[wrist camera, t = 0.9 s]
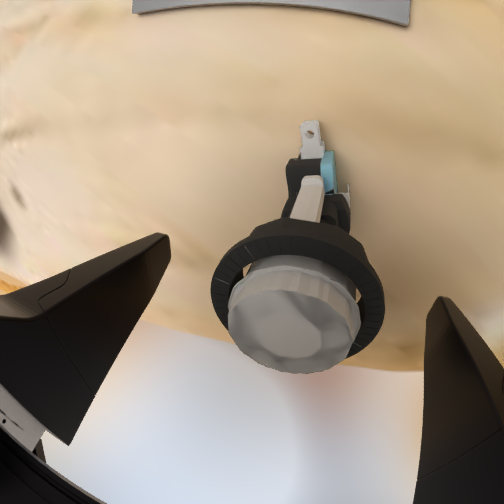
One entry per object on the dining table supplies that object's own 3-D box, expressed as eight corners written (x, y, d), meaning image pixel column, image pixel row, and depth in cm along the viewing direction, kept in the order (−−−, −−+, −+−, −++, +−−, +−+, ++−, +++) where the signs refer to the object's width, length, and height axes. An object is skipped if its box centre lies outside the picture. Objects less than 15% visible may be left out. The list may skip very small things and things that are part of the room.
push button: (261, 124, 15) (156, 211, 7) (366, 115, 13) (399, 200, 5) (281, 235, 18) (224, 378, 11) (371, 234, 17) (374, 391, 9)
